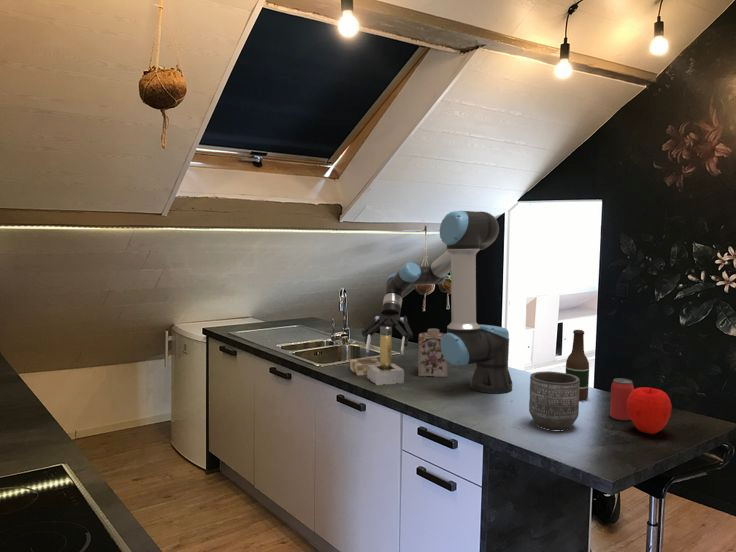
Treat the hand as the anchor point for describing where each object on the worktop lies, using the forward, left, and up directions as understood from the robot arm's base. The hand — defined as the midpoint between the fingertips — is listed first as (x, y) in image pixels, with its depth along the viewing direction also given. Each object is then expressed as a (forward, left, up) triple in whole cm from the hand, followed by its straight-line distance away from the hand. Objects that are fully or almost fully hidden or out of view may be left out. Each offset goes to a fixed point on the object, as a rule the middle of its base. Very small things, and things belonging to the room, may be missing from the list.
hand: (384, 351), depth 227 cm
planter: (-62, -32, -12) cm, 71 cm away
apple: (-75, -55, -12) cm, 94 cm away
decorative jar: (+6, -23, -12) cm, 26 cm away
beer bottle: (-40, -57, -12) cm, 71 cm away
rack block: (+16, +2, -11) cm, 20 cm away
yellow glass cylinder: (+1, -1, -11) cm, 12 cm away
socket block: (+1, -1, -11) cm, 12 cm away
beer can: (-62, -57, -12) cm, 85 cm away
